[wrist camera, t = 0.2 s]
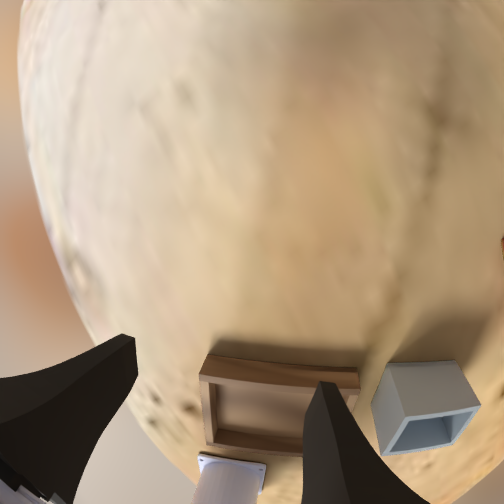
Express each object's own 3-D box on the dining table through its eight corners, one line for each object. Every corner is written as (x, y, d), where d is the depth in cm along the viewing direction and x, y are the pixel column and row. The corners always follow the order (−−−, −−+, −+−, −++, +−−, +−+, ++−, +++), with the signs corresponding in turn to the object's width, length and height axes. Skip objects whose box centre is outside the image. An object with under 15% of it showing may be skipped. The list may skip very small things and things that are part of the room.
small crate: (434, 399, 21) (452, 444, 15) (370, 404, 22) (380, 456, 16) (454, 359, 19) (481, 405, 14) (387, 362, 20) (405, 416, 15)
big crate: (330, 438, 24) (331, 457, 22) (212, 426, 25) (206, 445, 23) (356, 367, 21) (361, 388, 18) (207, 354, 22) (198, 373, 20)
